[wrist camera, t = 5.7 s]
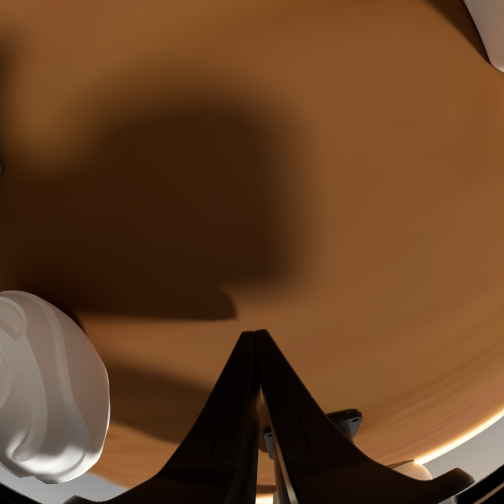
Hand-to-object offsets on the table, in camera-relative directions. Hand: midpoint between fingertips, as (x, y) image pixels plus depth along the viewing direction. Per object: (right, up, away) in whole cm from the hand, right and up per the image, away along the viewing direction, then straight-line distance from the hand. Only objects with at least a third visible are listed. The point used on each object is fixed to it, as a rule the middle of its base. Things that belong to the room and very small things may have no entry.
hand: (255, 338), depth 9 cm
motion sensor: (-9, 0, +1) cm, 9 cm away
